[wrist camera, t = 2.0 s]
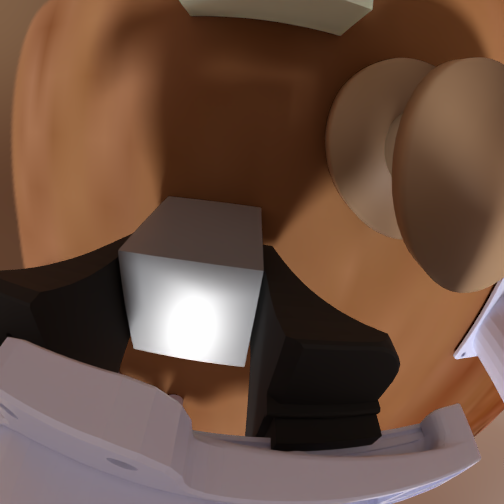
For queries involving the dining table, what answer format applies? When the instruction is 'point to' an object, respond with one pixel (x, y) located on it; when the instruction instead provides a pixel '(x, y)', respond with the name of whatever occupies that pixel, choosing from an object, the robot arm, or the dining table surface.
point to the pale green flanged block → (288, 11)
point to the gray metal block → (194, 280)
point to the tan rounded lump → (426, 162)
